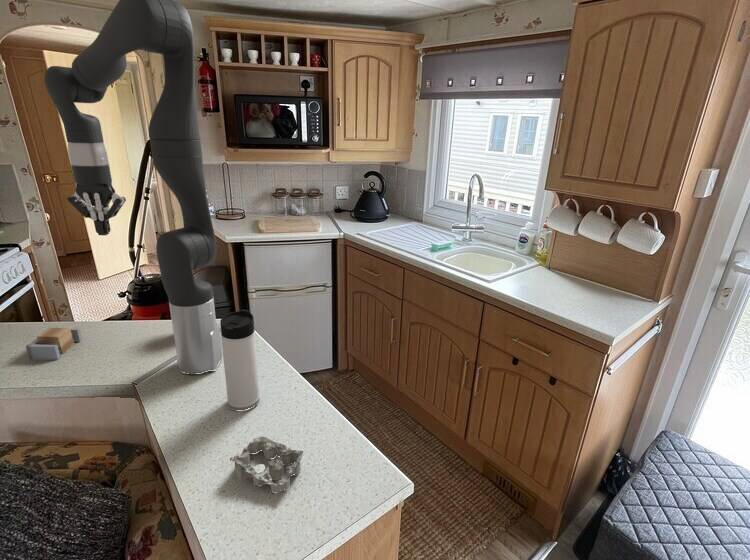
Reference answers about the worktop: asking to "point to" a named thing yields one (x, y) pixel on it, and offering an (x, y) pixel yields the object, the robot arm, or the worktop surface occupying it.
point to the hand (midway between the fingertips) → (103, 234)
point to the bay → (49, 348)
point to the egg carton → (275, 464)
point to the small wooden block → (57, 338)
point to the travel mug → (240, 359)
